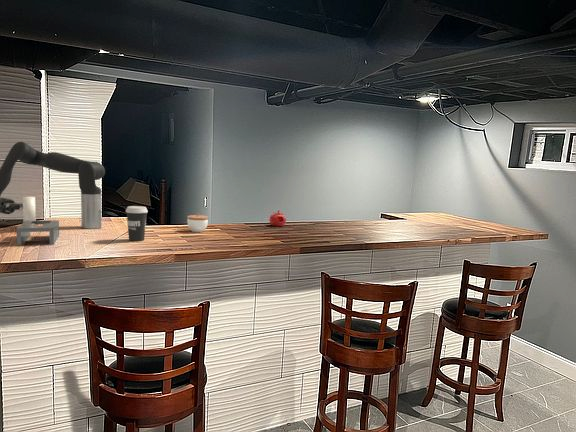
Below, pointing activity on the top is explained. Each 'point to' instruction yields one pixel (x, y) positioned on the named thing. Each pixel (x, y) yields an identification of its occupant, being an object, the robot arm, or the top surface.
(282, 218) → the pomegranate
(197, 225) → the lidded jar
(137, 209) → the coffee cup
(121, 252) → the top surface
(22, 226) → the keyhole plate
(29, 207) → the peg
